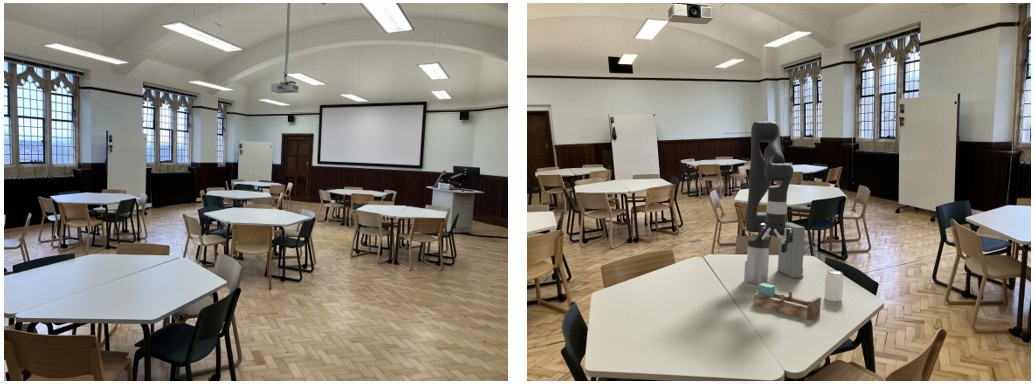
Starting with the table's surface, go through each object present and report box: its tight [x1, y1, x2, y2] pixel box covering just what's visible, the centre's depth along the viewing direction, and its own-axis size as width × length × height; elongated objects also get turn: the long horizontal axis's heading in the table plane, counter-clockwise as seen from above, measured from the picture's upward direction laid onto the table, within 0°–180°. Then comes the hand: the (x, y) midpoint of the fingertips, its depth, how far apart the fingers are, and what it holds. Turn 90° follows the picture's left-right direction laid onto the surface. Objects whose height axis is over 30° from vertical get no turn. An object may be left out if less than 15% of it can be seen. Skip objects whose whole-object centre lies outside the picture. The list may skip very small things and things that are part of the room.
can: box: [823, 269, 845, 303], centre depth 219 cm, size 6×6×12 cm
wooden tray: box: [752, 290, 822, 321], centre depth 208 cm, size 22×9×7 cm, turn 39°
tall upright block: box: [776, 221, 806, 279], centre depth 257 cm, size 14×6×25 cm, turn 179°
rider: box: [757, 283, 776, 298], centre depth 214 cm, size 5×4×5 cm
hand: (774, 250), depth 215 cm, fingers open, 8 cm apart
